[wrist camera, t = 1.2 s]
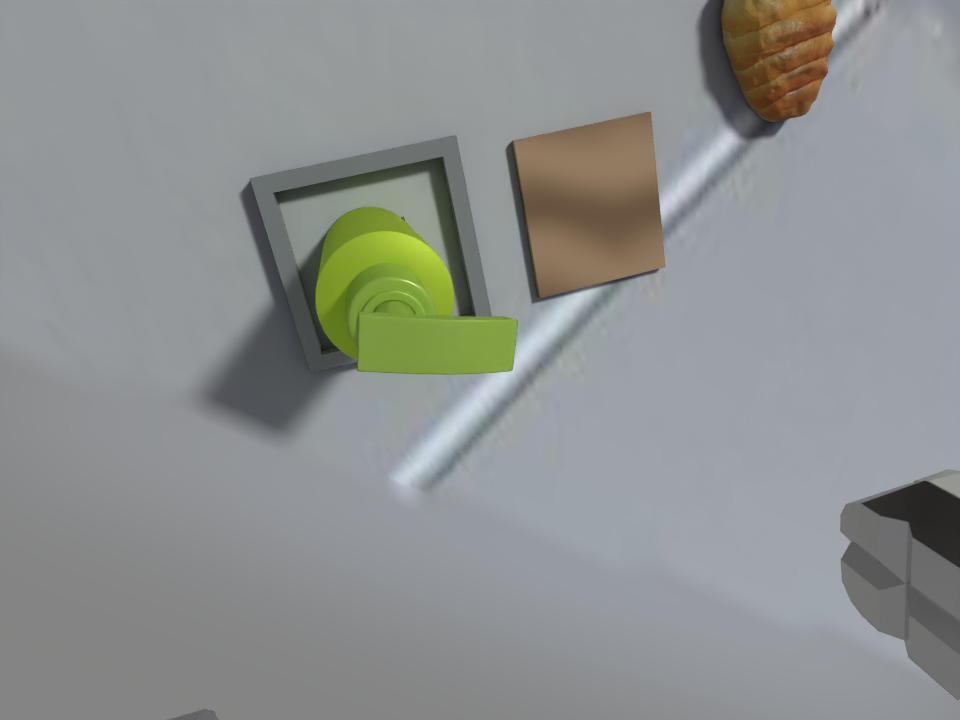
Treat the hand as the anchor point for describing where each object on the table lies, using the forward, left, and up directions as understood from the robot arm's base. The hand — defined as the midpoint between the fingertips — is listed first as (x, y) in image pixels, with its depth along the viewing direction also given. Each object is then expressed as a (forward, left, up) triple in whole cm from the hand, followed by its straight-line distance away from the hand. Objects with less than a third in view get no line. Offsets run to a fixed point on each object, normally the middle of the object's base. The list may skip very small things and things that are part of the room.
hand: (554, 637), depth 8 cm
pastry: (-8, +27, -34) cm, 44 cm away
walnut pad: (0, +14, -34) cm, 36 cm away
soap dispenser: (0, 0, -34) cm, 34 cm away
